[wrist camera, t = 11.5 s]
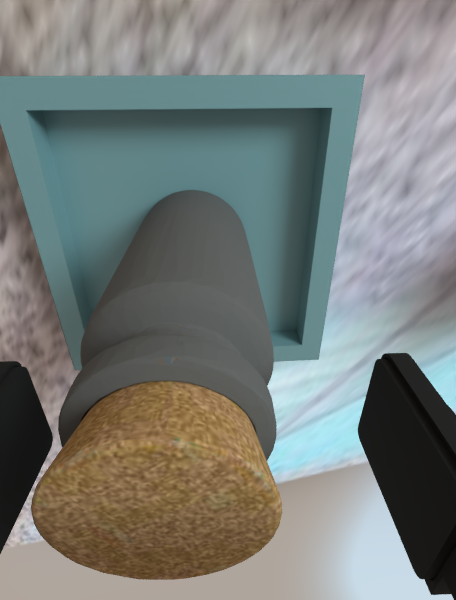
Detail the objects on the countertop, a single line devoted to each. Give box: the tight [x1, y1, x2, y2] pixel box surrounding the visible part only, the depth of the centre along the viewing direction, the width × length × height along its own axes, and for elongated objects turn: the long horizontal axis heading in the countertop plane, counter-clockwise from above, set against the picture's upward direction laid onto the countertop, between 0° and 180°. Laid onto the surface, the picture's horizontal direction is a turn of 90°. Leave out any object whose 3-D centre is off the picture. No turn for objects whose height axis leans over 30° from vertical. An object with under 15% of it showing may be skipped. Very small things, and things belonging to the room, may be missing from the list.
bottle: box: [31, 190, 282, 579], centre depth 13 cm, size 6×6×15 cm
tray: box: [0, 75, 365, 370], centre depth 19 cm, size 15×15×2 cm
